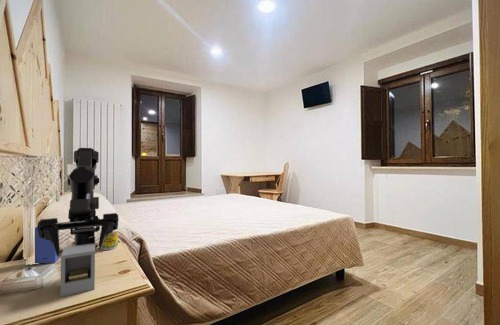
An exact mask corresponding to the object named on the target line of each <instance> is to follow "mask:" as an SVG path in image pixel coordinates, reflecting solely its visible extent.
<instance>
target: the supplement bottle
mask: <svg viewBox="0 0 500 325" xmlns="http://www.w3.org/2000/svg"><path fill="white" fill-rule="evenodd" d="M118 246H119V228H118V229H116V230H113V232H112V233H109V234H108V236H107V237H106V239H105V241H104V243H103V245H102V248H101V250H103V251H110V250H114V249H117V248H118Z"/></svg>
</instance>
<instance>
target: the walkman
mask: <svg viewBox="0 0 500 325" xmlns="http://www.w3.org/2000/svg"><path fill="white" fill-rule="evenodd" d="M34 226H35V263H47V264H54V263H55V264H56V262H58V260H59V258H60V255H59V256H57V254H56V251H55V248H54V246H53V244H52V243H51V241H50V240H45V238H43V239H42V238H40V237H39V233H38V229H37V225H34ZM58 235H59V236H60V230H58Z"/></svg>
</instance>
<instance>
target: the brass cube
mask: <svg viewBox="0 0 500 325" xmlns="http://www.w3.org/2000/svg"><path fill="white" fill-rule="evenodd" d="M85 278H88V268H84V269H79V270H73V271H70V275H69V282H70V281H75V280H80V279H85Z"/></svg>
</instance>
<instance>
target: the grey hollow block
mask: <svg viewBox="0 0 500 325" xmlns="http://www.w3.org/2000/svg"><path fill="white" fill-rule="evenodd" d="M95 245H96V242H95V243H92V244H84V245H77V246H75V245H70V246H69V245H68V246H64V247H63V250H62V252H61V256H60V295H59V296H60V297H61V298H62V297H66V296H70V295H76V294H80V293H85V292H88V291H89V292H90V291H93V290H95V283H96V282H95V276H96V272H95V271H96V247H95ZM84 268H88V278H85V279H80V280H75V281H70V282H69V275H70V271H73V270H79V269H84Z"/></svg>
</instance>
